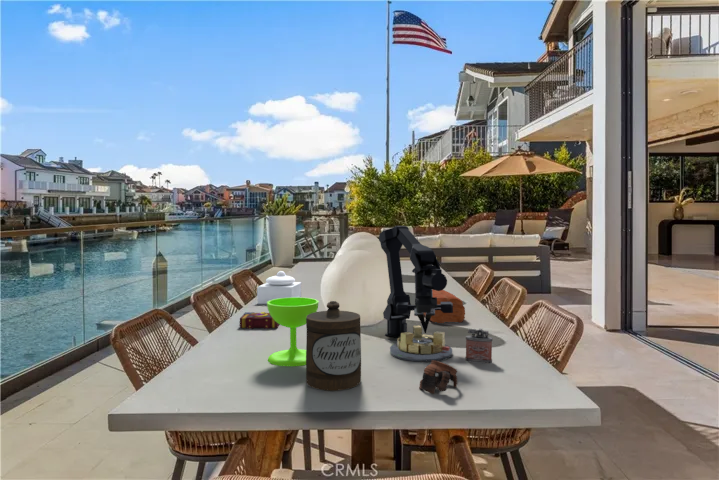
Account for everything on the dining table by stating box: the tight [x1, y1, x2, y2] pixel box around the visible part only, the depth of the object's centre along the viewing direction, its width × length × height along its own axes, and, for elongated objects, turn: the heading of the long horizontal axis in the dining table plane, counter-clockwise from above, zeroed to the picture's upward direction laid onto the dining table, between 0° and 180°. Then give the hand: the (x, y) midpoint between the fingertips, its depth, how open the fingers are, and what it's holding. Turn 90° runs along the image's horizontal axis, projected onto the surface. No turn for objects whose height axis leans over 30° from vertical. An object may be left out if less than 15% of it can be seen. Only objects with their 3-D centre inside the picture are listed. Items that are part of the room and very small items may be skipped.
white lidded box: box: [256, 270, 303, 305], centre depth 263 cm, size 18×18×16 cm
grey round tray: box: [389, 338, 453, 363], centre depth 168 cm, size 20×20×4 cm
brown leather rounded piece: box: [419, 360, 458, 395], centre depth 134 cm, size 12×10×8 cm
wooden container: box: [305, 300, 362, 392], centre depth 140 cm, size 15×15×22 cm
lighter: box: [464, 328, 493, 364], centre depth 159 cm, size 8×3×10 cm, turn 71°
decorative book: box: [239, 311, 280, 330], centre depth 209 cm, size 11×16×5 cm
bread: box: [424, 289, 466, 324], centre depth 226 cm, size 16×27×11 cm, turn 5°
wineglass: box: [266, 297, 320, 368], centre depth 161 cm, size 16×16×18 cm
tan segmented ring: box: [396, 325, 451, 354], centre depth 168 cm, size 17×15×6 cm
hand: (425, 333), depth 174 cm, fingers closed
